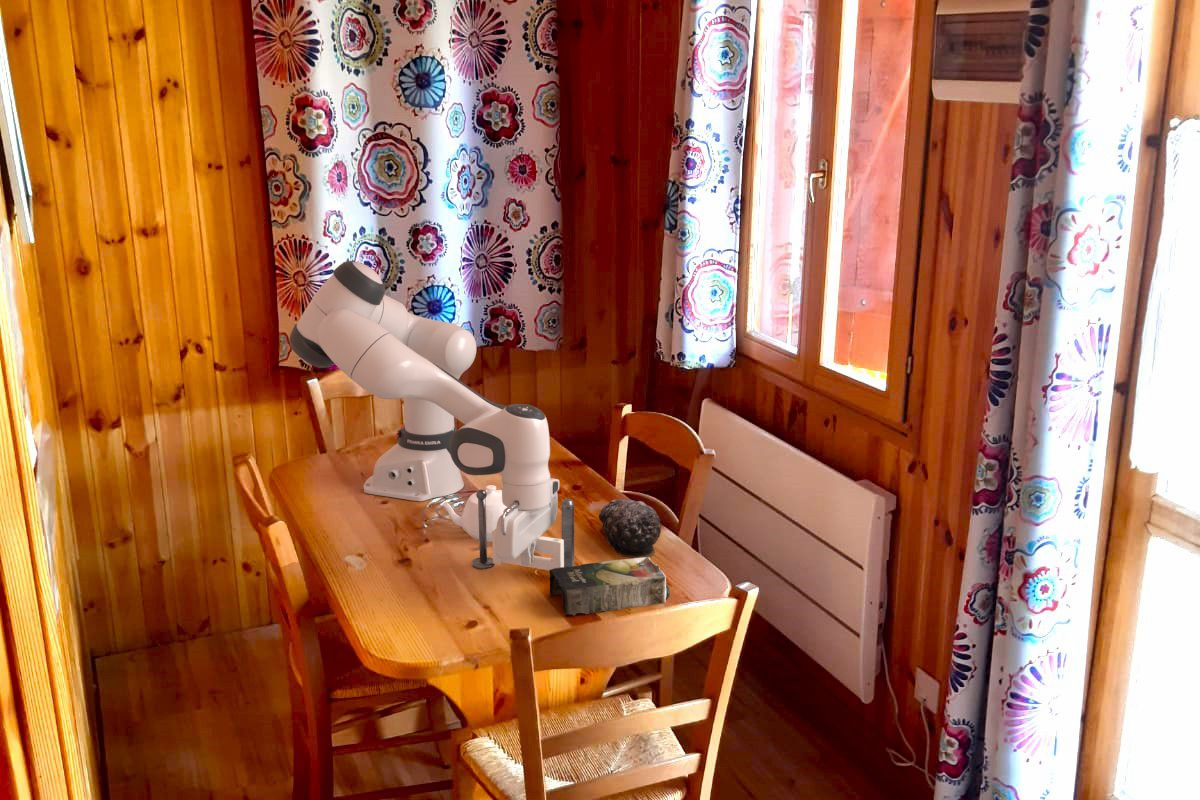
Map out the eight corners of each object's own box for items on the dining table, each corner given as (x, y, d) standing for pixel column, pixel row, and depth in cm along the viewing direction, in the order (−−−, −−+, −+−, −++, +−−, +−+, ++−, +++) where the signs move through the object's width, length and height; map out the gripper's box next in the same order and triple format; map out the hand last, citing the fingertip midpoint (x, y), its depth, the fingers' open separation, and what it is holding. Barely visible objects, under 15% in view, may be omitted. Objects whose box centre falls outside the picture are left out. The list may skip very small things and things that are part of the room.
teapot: (447, 551, 215) (446, 503, 212) (435, 528, 226) (433, 482, 223) (545, 538, 221) (544, 491, 218) (528, 516, 232) (527, 471, 230)
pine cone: (625, 523, 228) (626, 478, 226) (670, 555, 213) (671, 507, 211) (581, 532, 224) (581, 487, 221) (624, 565, 209) (624, 517, 206)
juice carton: (652, 580, 203) (652, 550, 201) (672, 603, 194) (673, 572, 192) (548, 597, 197) (548, 566, 195) (564, 622, 188) (564, 590, 186)
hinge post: (469, 568, 207) (466, 493, 203) (475, 558, 211) (473, 484, 207) (491, 570, 206) (489, 494, 202) (497, 560, 211) (495, 486, 206)
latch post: (560, 567, 208) (560, 500, 204) (563, 562, 210) (562, 496, 206) (573, 568, 207) (572, 501, 203) (575, 563, 209) (575, 497, 206)
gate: (492, 567, 207) (491, 532, 205) (497, 562, 209) (496, 528, 207) (560, 579, 202) (559, 543, 200) (564, 574, 204) (564, 539, 202)
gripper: (518, 514, 188) (519, 588, 191) (563, 477, 206) (563, 545, 210) (485, 510, 190) (487, 583, 193) (532, 473, 208) (533, 541, 212)
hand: (527, 563), depth 202 cm, fingers closed
